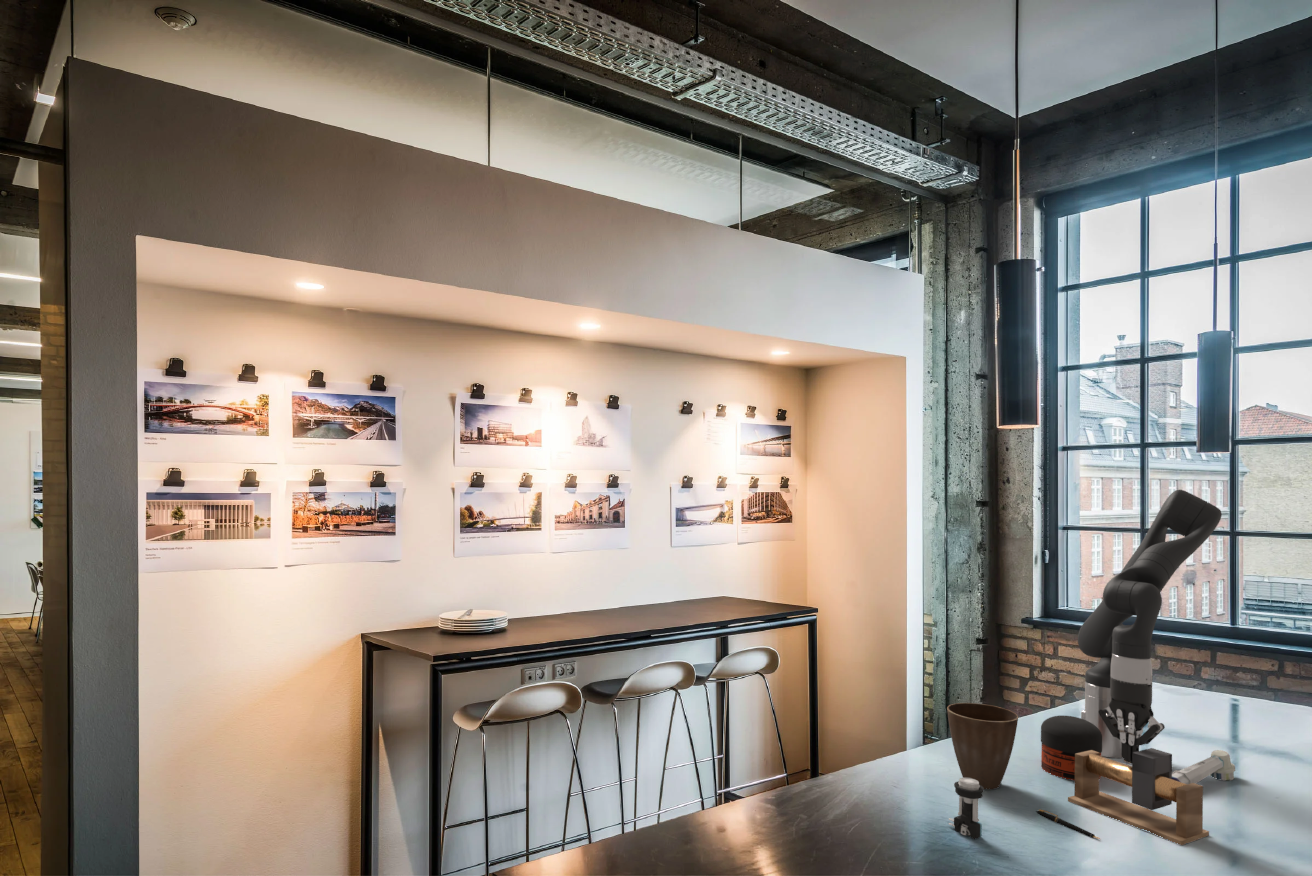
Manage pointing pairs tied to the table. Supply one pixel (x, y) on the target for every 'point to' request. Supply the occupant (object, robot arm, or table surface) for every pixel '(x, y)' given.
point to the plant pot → (982, 740)
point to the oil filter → (1067, 743)
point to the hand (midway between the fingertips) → (1130, 762)
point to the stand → (1175, 830)
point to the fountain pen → (1065, 823)
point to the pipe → (1129, 775)
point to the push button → (968, 807)
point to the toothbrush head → (1207, 769)
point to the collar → (1149, 777)
